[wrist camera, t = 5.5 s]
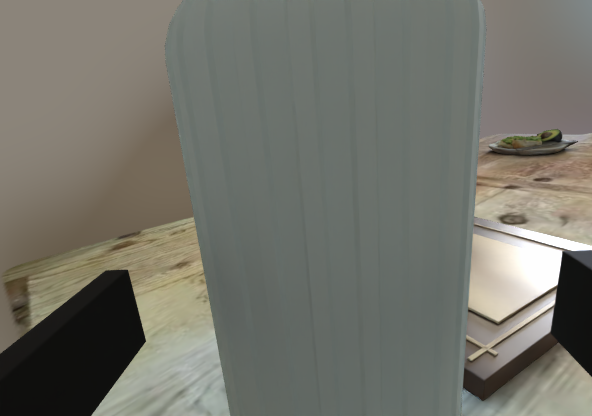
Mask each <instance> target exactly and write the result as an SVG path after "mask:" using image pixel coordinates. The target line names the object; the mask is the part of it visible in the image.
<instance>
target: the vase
mask: <svg viewBox="0 0 592 416" xmlns="http://www.w3.org/2000/svg"><path fill="white" fill-rule="evenodd" d="M485 42H486V19H485V10H484V7H483V5H482V2H481V0H183V1H182V3H181V4H180V5H179V7H178V8H177V10H176V12H175V14H174V16H173V18H172V20H171V22H170V24H169V28H168V33H167V38H166V43H165V56H166V66H167V72H168V78H169V83H170V88H171V94H172V99H173V105H174V111H175V116H176V121H177V127H178V132H179V138H180V143H181V149H182V154H183V159H184V165H185V170H186V176H187V181H188V187H189V192H190V197H191V203H192V208H193V213H194V219H195V225H196V230H197V236H198V241H199V246H200V252H201V257H202V263H203V268H204V274H205V279H206V285H207V290H208V295H209V301H210V306H211V312H212V317H213V323H214V328H215V334H216V339H217V344H218V350H219V355H220V361H221V366H222V372H223V377H224V382H225V388H226V393H227V399H228V404H229V410H230V415H231V416H461V407H462V392H463V376H464V361H465V346H466V331H467V316H468V301H469V286H470V270H471V255H472V240H473V225H474V210H475V195H476V179H477V164H478V149H479V134H480V119H481V104H482V103H481V102H482V89H483V73H484V57H485Z"/></svg>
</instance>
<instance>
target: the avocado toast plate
mask: <svg viewBox="0 0 592 416" xmlns="http://www.w3.org/2000/svg"><path fill="white" fill-rule="evenodd" d="M561 139H562V132H561V131H560V130H558V129H555V130H548V131H544V132H542V133H540V134H537V136H536V137H535V136H530V137H522V136H514V137H507V138H506V139H503V140H500V141H498V142H496V143H493V144H490V145H489V148H490V149H492V150H493V151H495V152H497V153H500V154H513V155H539V154H551V153H556V152H558V151H561V150H563V149H565V148H566V147H568V146H570V145H572V144H574V143H576V142H578V141H567V140H561Z"/></svg>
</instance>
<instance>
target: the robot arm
mask: <svg viewBox="0 0 592 416" xmlns="http://www.w3.org/2000/svg"><path fill="white" fill-rule="evenodd" d="M550 333H551V334H552V335H553V336H554V338H555V339H556V340H557V341H558V342H559V343H560V344H561V345H562V346H563V347H564V348H565V349H566V350H567V351H568V352H569V353H570V354H571V356H572V357H573V358H574V359H575V360H576V361H577V362H578V363H579V364H580V365H581V366H582V367H583V368H584V369H585V370H586V371H587V372H588V373H589V375H590V376H591V377H592V250H577V251H562V258H561V265H560V271H559V278H558V285H557V291H556V298H555V305H554V311H553V318H552V325H551V331H550ZM145 342H146V339H145V335H144V331H143V327H142V323H141V320H140V316H139V312H138V308H137V304H136V300H135V296H134V292H133V288H132V284H131V280H130V276H129V272H128V270H108V271H105V272H103V273H102V274H101V275H99V276H98V277H97V278H96V279H94V280H93V281H92V282H91V283H89V284H88V285H87V286H86V287H84V288H83V289H82V290H80V291H79V292H78V293H77V294H75V295H74V296H73V297H72V298H70V299H69V300H68V301H67V302H65V303H64V304H63V305H62V306H60V307H59V308H58V309H56V310H55V311H54V312H53V313H51V314H50V315H49V316H48V317H46V318H45V319H44V320H43V321H41V322H40V323H39V324H37V325H36V326H35V327H34V328H32V329H31V330H30V331H29V332H27V333H26V334H25V335H24V336H22V337H21V338H20V339H18V340H17V341H16V342H15V343H13V344H12V345H11V346H10V347H8V348H7V349H6V350H5V351H3V352H2V353H1V354H0V416H91V415H92V414H93V412H94V411H95V410H96V408H97V407H98V406H99V404H100V403H101V402H102V400H103V399H104V398H105V396H106V395H107V393H108V392H109V391H110V389H111V388H112V387H113V385H114V384H115V383H116V381H117V380H118V379H119V377H120V376H121V374H122V373H123V372H124V370H125V369H126V368H127V366H128V365H129V364H130V362H131V361H132V360H133V358H134V357H135V355H136V354H137V353H138V351H139V350H140V349H141V347H142V346H143V345H144V343H145Z"/></svg>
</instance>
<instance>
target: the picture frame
mask: <svg viewBox="0 0 592 416" xmlns="http://www.w3.org/2000/svg"><path fill="white" fill-rule="evenodd" d="M577 250H592V246H589V245H585V244H581V243H577V242H573V241H569V240H565V239H561V238H557V237H553V236H549V235H545V234H541V233H537V232H533V231H529V230H525V229H521V228H517V227H513V226H509V225H505V224H501V223H497V222H493V221H489V220H485V219H481V218H477V217H474V225H473V240H472V255H471V270H470V286H469V301H468V316H467V331H466V346H465V361H464V376H463V387H464V388H465V389H467V390H468V391H470V392H471V393H473V394H474V395H475V396H477V397H478V398H480V399H481V400H485V399H486V398H487V397H488V396H490V395H491V394H492V393H494V392H495V391H496V390H497V389H499V388H500V387H501V386H503V385H504V384H505V383H506V382H508V381H509V380H510V379H512V378H513V377H514V376H515V375H517V374H518V373H519V372H521V371H522V370H523V369H524V368H526V367H527V366H528V365H530V364H531V363H532V362H533V361H535V360H536V359H537V358H539V357H540V356H541V355H543V354H544V353H545V352H546V351H548V350H549V349H550V348H552V347H553V346H554V345H555V344H557V343H558V341H557V340H556V339H555V338H554V336H553V335H552V334H551V333H550V331H551V325H552V318H553V311H554V305H555V298H556V291H557V285H558V278H559V271H560V265H561V258H562V251H577Z"/></svg>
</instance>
